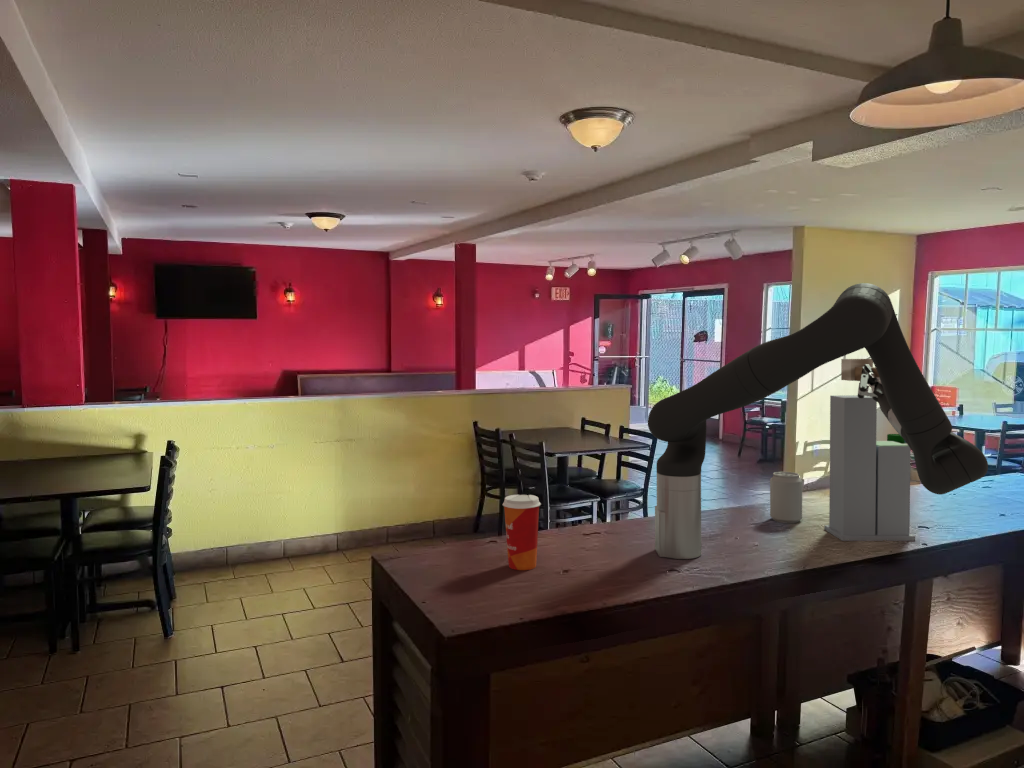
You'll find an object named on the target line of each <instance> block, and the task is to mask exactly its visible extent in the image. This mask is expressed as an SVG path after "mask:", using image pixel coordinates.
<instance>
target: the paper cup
mask: <svg viewBox="0 0 1024 768" xmlns="http://www.w3.org/2000/svg"><path fill="white" fill-rule="evenodd" d="M541 505H542V503H541V502H540V500H539V497H538V496H536V495H534V494H528V495H527V494H511V495H507V496H505V497H504V501H503V503H502V506H503V509H504V519H505V520H504V522H505V523H504V524H505V534H506V535H505V537H506V538H505V539H506V549H507V562H508V567H509V569H511V570H515V571H529V570H533V569H535V568H536V567H537V558H538V544H539V543H538V542H539V537H538V536H539V519H540V518H539V516H540V515H539V513H540V506H541Z"/></svg>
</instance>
